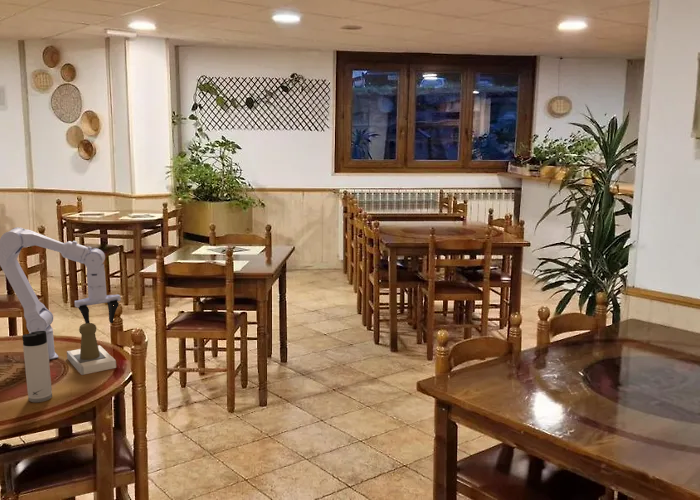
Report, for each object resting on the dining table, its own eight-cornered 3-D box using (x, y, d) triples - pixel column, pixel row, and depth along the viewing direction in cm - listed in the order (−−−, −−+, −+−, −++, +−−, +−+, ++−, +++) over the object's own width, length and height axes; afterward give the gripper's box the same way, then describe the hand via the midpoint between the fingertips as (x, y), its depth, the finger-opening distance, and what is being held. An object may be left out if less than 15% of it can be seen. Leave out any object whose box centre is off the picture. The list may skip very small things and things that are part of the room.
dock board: (67, 358, 229) (66, 351, 228) (100, 352, 235) (99, 344, 235) (81, 375, 215) (80, 367, 214) (116, 367, 221) (115, 360, 220)
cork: (93, 360, 219) (90, 327, 217) (76, 359, 220) (73, 326, 218) (103, 353, 225) (101, 321, 223) (86, 352, 226) (84, 320, 224)
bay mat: (73, 356, 224) (73, 355, 224) (98, 351, 229) (98, 350, 229) (80, 363, 218) (79, 362, 218) (105, 358, 222) (105, 357, 222)
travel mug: (37, 404, 193) (31, 336, 189) (23, 399, 196) (17, 332, 192) (57, 397, 198) (51, 330, 194) (43, 392, 201) (37, 326, 197)
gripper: (77, 291, 221) (80, 331, 224) (122, 284, 230) (125, 323, 232) (71, 286, 227) (75, 326, 230) (115, 280, 235) (118, 318, 238)
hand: (99, 324), depth 231 cm, fingers open, 7 cm apart
